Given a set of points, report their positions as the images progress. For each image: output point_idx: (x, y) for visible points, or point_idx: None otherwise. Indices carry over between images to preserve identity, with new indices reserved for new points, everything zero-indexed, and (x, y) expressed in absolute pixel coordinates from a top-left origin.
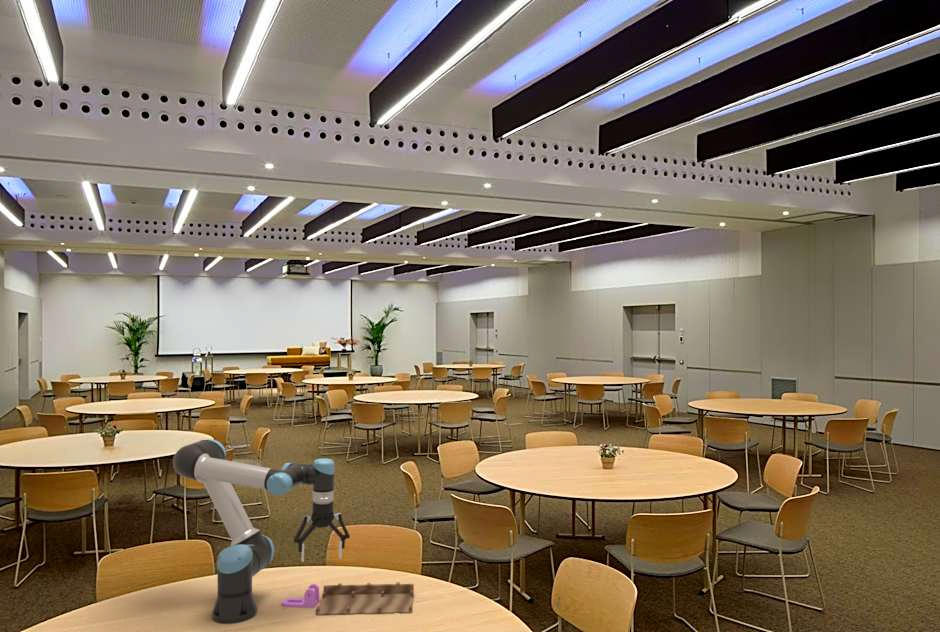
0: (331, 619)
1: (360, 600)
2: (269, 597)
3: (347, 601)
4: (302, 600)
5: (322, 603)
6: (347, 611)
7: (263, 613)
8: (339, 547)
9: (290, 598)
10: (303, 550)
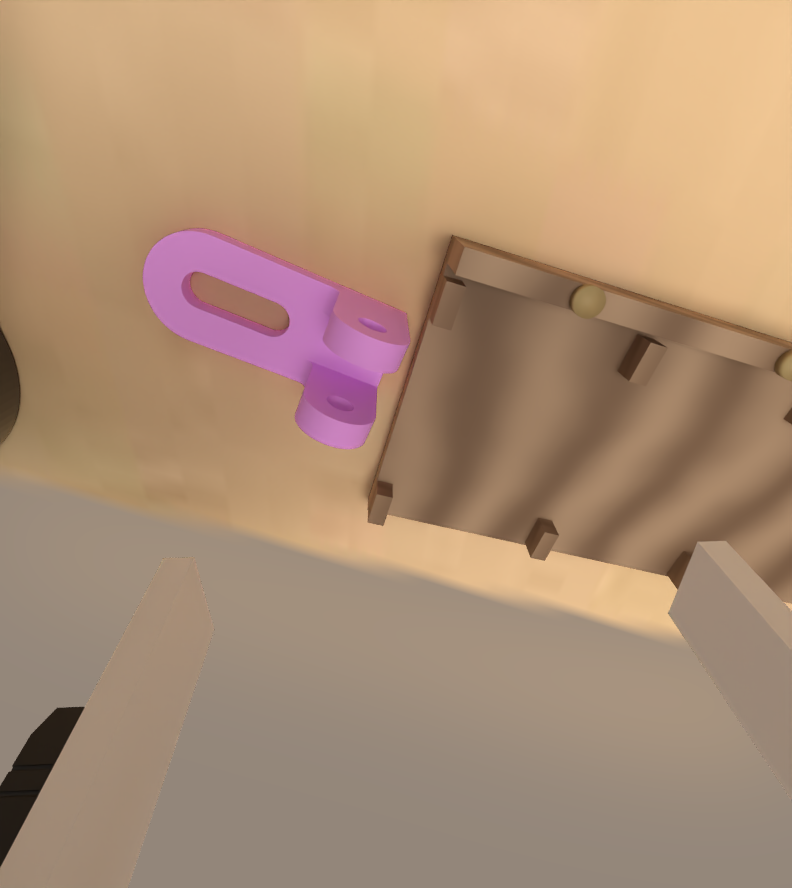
0: (442, 539)
1: (648, 428)
2: (10, 82)
3: (572, 417)
4: (291, 311)
5: (420, 399)
6: (529, 547)
7: (59, 373)
8: (775, 742)
9: (199, 245)
10: (145, 801)
